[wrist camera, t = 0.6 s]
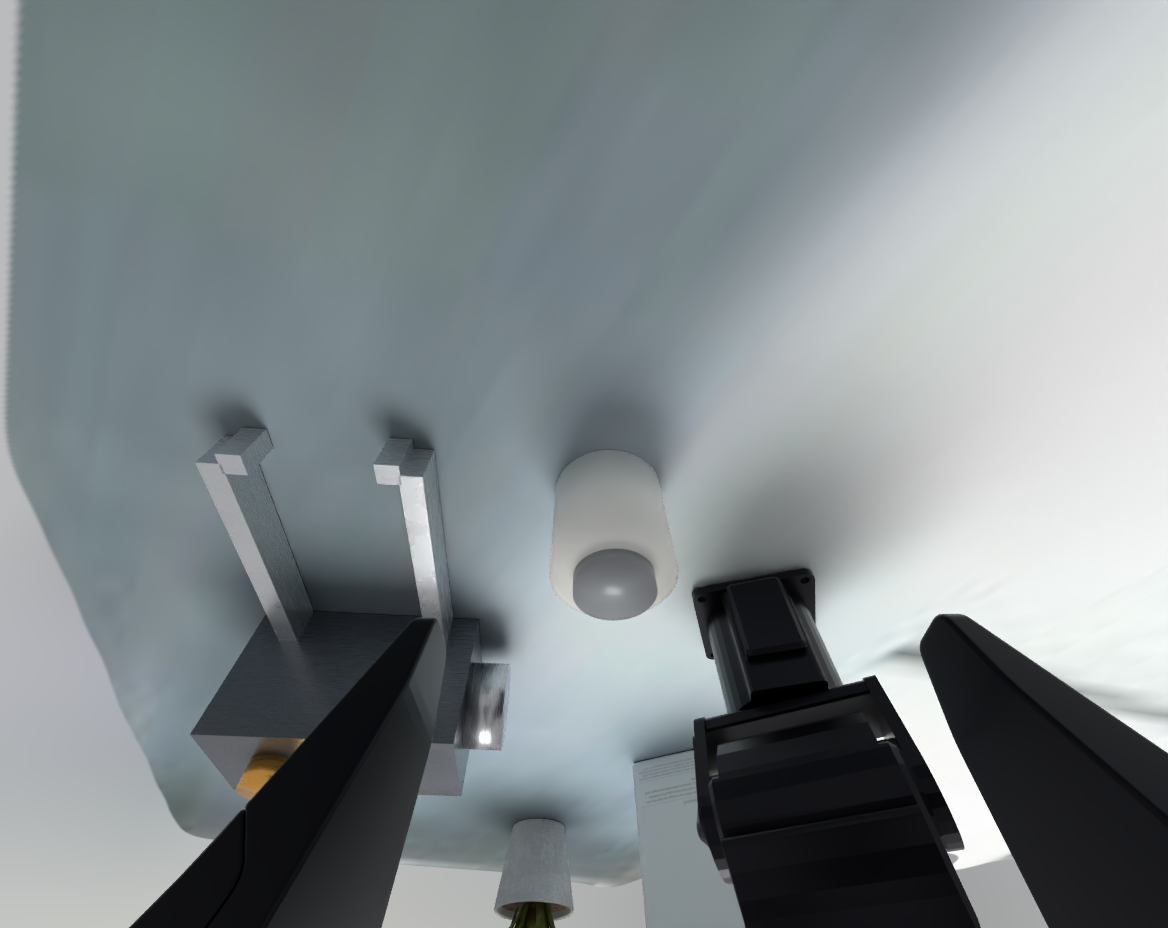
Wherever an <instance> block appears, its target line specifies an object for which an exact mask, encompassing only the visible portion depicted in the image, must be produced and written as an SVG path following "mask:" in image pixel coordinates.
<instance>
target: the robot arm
mask: <svg viewBox="0 0 1168 928" xmlns="http://www.w3.org/2000/svg"><path fill="white" fill-rule="evenodd" d="M692 598H693V602H694V606H695V611H696V615H697V619H698V623H699V627H700V631H701V636H702V640H703V644H704V648H705V652H706V656H707V658H709V659H712V660H713V659H715V664H716V668H717V672H718V676H719V680H720V684H721V688H722V692H723V696H724V700H725V704H726V708H727V713H728V714H724V715H720V716H716V717H712V718H708V719H705V718H704V717H703V718H699V719H695V720H694V733H695V736H694V737H693V748H694V762H695V776H696V789H697V803H698V807H697V823H696V827H697V832H698V836H699V838H700V840H701V841H702V842H704V843H705V844H706V845H707V846H708V847H709V849H710V851H711V854H712V857H713V860H714V862H715V865H716V867H717V869H718V872H719V873H720V875H721V877H722V879H723V880H724V882H725V883H726V884H733V886H734V890H735V893H736V897H737V900H738V904H739V907H740V911H741V914H742V917H743V921H744V924H745V928H981V927H980V924H979V921H978V918H977V916H976V914H975V912H974V910H973V907H972V905H971V903H970V901H969V899H968V897H967V895H966V892H965V890H964V888H963V886H962V884H961V882H960V879H959V877H958V875H957V873H956V871H955V869H954V866H953V864H952V862H951V860H950V858H949V856H948V854H947V852H950V851H957V850H963V849H964V844H963V841H962V838H961V835H960V833H959V830H958V828H957V826H956V823H955V821H954V819H953V817H952V814H951V812H950V810H949V808H948V806H947V804H946V802H945V799H944V797H943V795H942V793H941V791H940V789H939V787H938V785H937V783H936V781H935V779H934V777H933V775H932V774H931V772H930V770H929V768H928V766H927V764H926V762H925V761H924V759H923V757H922V755H921V753H920V752H919V750H918V748H917V747H916V745H915V743H914V741H913V740H912V738H911V736H910V734H909V733H908V731H907V729H906V728H905V726H904V724H903V722H902V721H901V719H900V717H899V716H898V714H897V712H896V710H895V709H894V707H893V705H892V703H891V702H890V700H889V698H888V697H887V695H886V693H885V691H884V690H883V688H882V686H881V685H880V683H879V681H878V679H877V678H876V676H875V675H873V676H869V677H865V678H863V680H862V681H858V682H854V683H850V684H846V685H843V684H842V681H841V679H840V677H839V675H838V673H837V670H836V668H835V666H834V664H833V662H832V660H831V657H830V655H829V653H828V651H827V649H826V647H825V644H824V642H823V640H822V638H821V636H820V633H819V631H818V629H817V627H816V625H815V578H814V575H813V573H812V571H811V570H809V569H806V568H805V569H798V570H792V571H787V572H782V573H776V574H771V575H765V576H760V577H755V578H749V579H744V580H739V581H733V582H728V583H723V584H717V585H712V586H706V587H701V588H697V589H695V590H694V591H693V592H692ZM920 652H921V656H922V659H923V662H924V664H925V667H926V669H927V672H928V674H929V677H930V679H931V682H932V685H933V687H934V690H935V692H936V695H937V697H938V700H939V703H940V705H941V708H942V710H943V713H944V715H945V718H946V720H947V723H948V726H949V728H950V730H951V733H952V735H953V737H954V740H955V742H956V744H957V746H958V748H959V750H960V753H961V755H962V757H963V759H964V761H965V763H966V765H967V767H968V769H969V771H970V773H971V775H972V777H973V779H974V780H975V782H976V784H977V786H978V788H979V790H980V792H981V794H982V796H983V798H984V800H985V802H986V804H987V806H988V808H989V810H990V812H991V814H992V816H993V818H994V820H995V822H996V824H997V826H998V828H999V830H1000V832H1001V834H1002V836H1003V838H1004V840H1005V842H1006V844H1007V846H1008V848H1009V850H1010V852H1011V854H1012V856H1013V858H1014V860H1015V862H1016V864H1017V866H1018V867H1019V870H1020V872H1021V873H1022V876H1023V878H1024V879H1025V882H1026V884H1027V886H1028V887H1029V889H1030V891H1031V893H1032V895H1033V897H1034V899H1035V901H1036V903H1037V905H1038V907H1039V909H1040V911H1041V913H1042V915H1043V917H1044V919H1045V921H1046V923H1047V925H1048V927H1049V928H1168V753H1167V752H1165V751H1164V750H1162V749H1161V748H1159V747H1158V746H1157V745H1155V744H1154V743H1152V742H1151V741H1149V740H1148V739H1146V738H1145V737H1143V736H1142V735H1140V734H1139V733H1138V732H1136V731H1135V730H1133V729H1132V728H1130V727H1129V726H1127V725H1126V724H1124V723H1123V722H1121V721H1120V720H1118V719H1117V718H1116V717H1114V716H1113V715H1111V714H1110V713H1108V712H1107V711H1105V710H1104V709H1102V708H1101V707H1099V706H1098V705H1096V704H1095V703H1094V702H1092V701H1091V700H1089V699H1088V698H1086V697H1085V696H1083V695H1082V694H1080V693H1079V692H1077V691H1076V690H1075V689H1073V688H1072V687H1070V686H1069V685H1067V684H1066V683H1064V682H1063V681H1061V680H1060V679H1058V678H1057V677H1055V676H1054V675H1053V674H1051V673H1050V672H1048V671H1047V670H1045V669H1044V668H1042V667H1041V666H1039V665H1038V664H1036V663H1035V662H1034V661H1032V660H1031V659H1029V658H1028V657H1026V656H1025V655H1023V654H1022V653H1020V652H1019V651H1017V650H1016V649H1014V648H1013V647H1012V646H1010V645H1009V644H1007V643H1006V642H1004V641H1003V640H1001V639H1000V638H998V637H997V636H995V635H994V634H993V633H991V632H990V631H988V630H987V629H985V628H984V627H982V626H981V625H979V624H978V623H976V622H975V621H973V620H972V619H970V618H969V617H967V616H965V615H962V614H939V615H937V616H936V617H935V618H934V619H933V621H932V623H931V624H930V626H929V628H928V629H927V631H926V633H925V635H924V636H923V638H922V640H921V642H920ZM445 659H446V644H445V641H444V637H443V634H442V631H441V627H440V624H439V621H438V620H437V619H436V618H415V619H414V620H412V621H411V622H410V623H409V624H408V625H407V626H406V627H405V629H404V630H403V631H402V632H401V633H400V634H399V635H398V636H397V638H396V639H395V640H394V641H393V642H392V643H391V644H390V645H389V646H388V648H387V649H386V650H385V651H384V652H383V653H382V654H381V655H380V656H379V658H378V659H377V660H376V661H375V662H374V663H373V664H372V665H371V666H370V668H369V669H368V670H367V671H366V672H365V673H364V674H363V675H362V676H361V678H360V679H359V680H358V681H357V682H356V683H355V684H354V685H353V686H352V688H351V689H350V690H349V691H348V692H347V693H346V694H345V695H344V696H343V698H342V699H341V700H340V701H339V702H338V703H337V704H336V705H335V706H334V708H333V709H332V710H331V711H330V712H329V713H328V714H327V715H326V716H325V718H324V719H323V720H322V721H321V722H320V723H319V724H318V725H317V726H316V728H315V729H314V730H313V731H312V732H311V733H310V734H309V735H308V736H307V738H306V739H305V740H304V741H303V742H302V743H301V744H300V745H299V746H298V748H297V749H296V750H295V751H294V752H293V753H292V754H291V755H290V757H289V758H288V759H287V760H286V761H285V762H284V763H283V764H282V765H281V767H280V768H279V769H278V770H277V771H276V772H275V773H274V774H273V775H272V777H271V778H270V779H269V780H268V781H267V782H266V783H265V784H264V785H263V787H262V788H261V789H260V790H259V791H258V792H257V793H256V794H255V795H254V797H253V798H252V799H251V800H250V801H249V802H248V803H247V804H246V807H245V810H241V811H240V812H239V813H238V814H237V815H236V816H235V817H234V818H233V820H232V821H231V822H230V823H229V824H228V825H227V826H226V827H225V829H224V830H223V831H222V832H221V833H220V834H219V835H218V836H217V837H216V838H215V840H214V841H213V842H212V843H211V844H210V845H209V846H208V847H207V848H206V849H205V850H204V851H203V852H202V853H201V855H200V856H199V857H198V858H197V859H196V860H195V861H194V862H193V863H192V864H191V865H190V866H189V868H188V869H187V870H186V871H185V872H184V873H183V874H182V875H181V876H180V877H179V878H178V879H177V880H176V881H175V882H174V883H173V884H172V885H171V886H170V887H169V888H168V889H167V890H166V891H165V892H164V893H163V894H162V895H161V896H160V897H159V898H158V899H157V900H156V901H155V902H154V903H153V904H152V905H151V906H150V907H149V909H147V910H146V911H145V912H144V914H142V915H141V916H140V917H139V918H138V919H137V920H136V921H135V922H134V924H132V925H131V926H130V927H129V928H381V927H382V923H383V920H384V916H385V913H386V909H387V905H388V902H389V898H390V894H391V891H392V887H393V883H394V880H395V876H396V872H397V869H398V865H399V861H400V858H401V854H402V850H403V847H404V843H405V839H406V836H407V832H408V828H409V825H410V821H411V818H412V814H413V810H414V807H415V803H416V799H417V796H418V792H419V788H420V785H421V781H422V777H423V774H424V770H425V766H426V763H427V759H428V755H429V751H430V747H431V743H432V738H433V732H434V727H435V721H436V714H437V708H438V702H439V696H440V690H441V684H442V678H443V672H444V665H445ZM880 737H884V740H879V741H877V739H876V738H880Z"/></svg>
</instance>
